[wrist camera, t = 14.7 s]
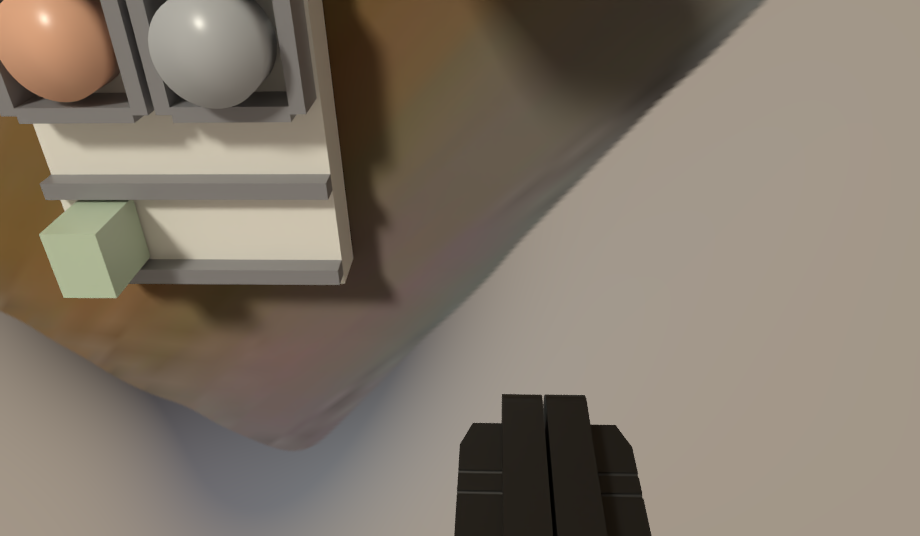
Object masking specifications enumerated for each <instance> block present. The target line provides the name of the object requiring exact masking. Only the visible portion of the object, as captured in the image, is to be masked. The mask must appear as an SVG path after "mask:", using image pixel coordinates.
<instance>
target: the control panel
mask: <svg viewBox="0 0 920 536" xmlns="http://www.w3.org/2000/svg"><path fill="white" fill-rule="evenodd" d="M2 1H3V0H0V3H1V2H2ZM166 1H168V0H100V2H101V5H102V9H103V13H104V16H105V20H106V23H107V27H108V30H109V34H110V37H111V41H112V45H113V48H114V52H115V55H116V59H117V62H118V66H119V69H120V73H119V75H118V76H117V77H116V78H115V79H113V80H112V81H111V82H109V83H108V84H106V85H104V86H103V87H101V88H100V89H98V90H97V91H95V92H94V93H92V94H91V95H89V96H87V97H86V98H84V99H81V100H79V101H74V102H57V101H52V100H49V99H45V98H43V97H41V96H38V95H36V94H34V93H33V92H31V91H29V90H28V89H26V88H25V87H24V86H22V85H21V84H20V83H19V82H18V81H17V80H16V79H15V78H14V77H13V76H12V75H11V74H10V73H9V72H8V71H7V69H6V68H5V66H4V65H3V63H2V62H1V60H0V114H1V116H17V118H18V121H19V124H33V125H34V128H35V131H36V133H37V136H38V139H39V142H40V144H41V147H42V150H43V153H44V155H45V158H46V161H47V164H48V166H49V169H50V172H51V175H50V176H49V177H48V178H46V179H45V180H44V181H42V182H41V183H40V186H41V188H42V191H43V194H44V196H45V199H46V200H61V202H62V205H63V208H64V211H66V210H67V209H68V208H69V207H70V206H72V205H73V204H74V203H75V202H76V201H77V200H134V203H135V207H136V210H137V213H138V217H139V220H140V223H141V227H142V230H143V233H144V237H145V240H146V243H147V247H148V250H149V253H150V258H149V259H148V260H147V262H146V263H145V264H144V265H143V266H142V268H141V269H140V270H139V271H138V273H137V274H136V275H135V276H134V278H133V279H132V280H131V281H130V283H129V284H258V285H340V284H345V282H346V279H347V276H348V273H349V270H350V267H351V264H352V261H353V251H352V243H351V234H350V226H349V218H348V210H347V201H346V193H345V185H344V177H343V168H342V160H341V152H340V144H339V135H338V127H337V119H336V111H335V102H334V94H333V86H332V78H331V69H330V61H329V53H328V45H327V36H326V28H325V20H324V12H323V3H322V0H255V1H256V2H257V3H258V4H259V5H260V6H261V7H262V9H263V10H264V11H265V13H266V14H267V16H268V17H269V19H270V21H271V23H272V26H273V28H274V31H275V35H276V41H277V55H276V61H275V64H274V67H273V69H272V71H271V73H270V74H269V76H268V77H267V78H266V79H265V80H264V81H263V82H262V84H261V85H260V86H259V87H258V88H257V89H256V90H255V91H254V92H253V93H252V94H251V95H250V96H249V97H248V98H247V99H246V100H245V101H243V102H241V103H240V104H238V105H235V106H232V107H228V108H222V109H212V108H206V107H201V106H198V105H195V104H193V103H191V102H189V101H187V100H185V99H183V98H182V97H180V96H179V95H177V94H176V93H175V92H174V91H173V90H172V89H170V88H169V87H168V85H167V84H166V83H165V82H164V81H163V79H162V78H161V77H160V75H159V74H158V72H157V70H156V68H155V66H154V64H153V62H152V59H151V56H150V51H149V46H148V33H149V27H150V23H151V21H152V18H153V16H154V15H155V13H156V11H157V10H158V9H159V8H160V6H162V5H163V4H164V3H165V2H166Z"/></svg>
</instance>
